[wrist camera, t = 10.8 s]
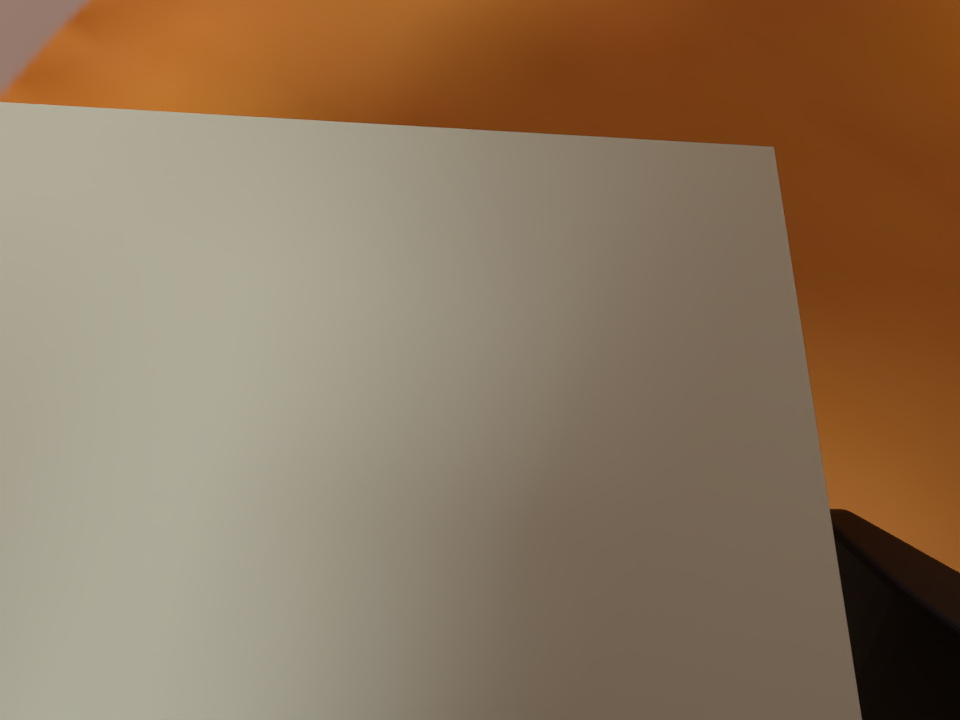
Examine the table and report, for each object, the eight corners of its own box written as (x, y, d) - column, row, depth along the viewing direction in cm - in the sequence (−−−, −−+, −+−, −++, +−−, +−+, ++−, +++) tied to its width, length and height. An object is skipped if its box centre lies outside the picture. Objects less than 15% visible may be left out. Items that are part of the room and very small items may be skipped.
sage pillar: (497, 734, 16) (915, 1080, 4) (195, 755, 15) (-287, 1265, 3) (485, 448, 17) (772, 146, 6) (211, 451, 16) (-81, 96, 5)
